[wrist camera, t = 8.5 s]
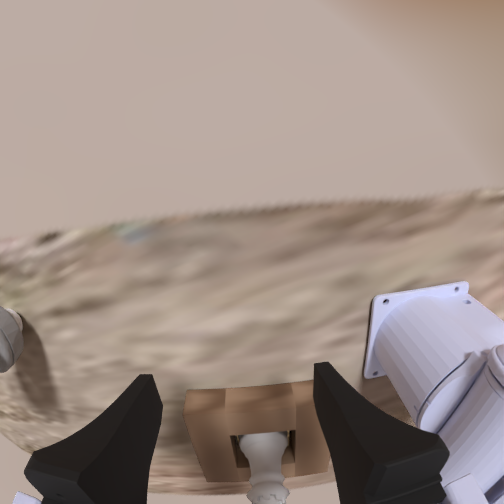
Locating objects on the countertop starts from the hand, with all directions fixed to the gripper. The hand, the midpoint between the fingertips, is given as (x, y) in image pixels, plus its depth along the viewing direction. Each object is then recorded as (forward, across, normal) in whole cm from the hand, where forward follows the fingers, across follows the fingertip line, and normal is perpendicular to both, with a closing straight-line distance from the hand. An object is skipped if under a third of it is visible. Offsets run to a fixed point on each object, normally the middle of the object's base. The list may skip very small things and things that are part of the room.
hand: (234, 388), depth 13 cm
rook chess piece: (+9, -1, +14) cm, 16 cm away
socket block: (+9, -1, +14) cm, 17 cm away
